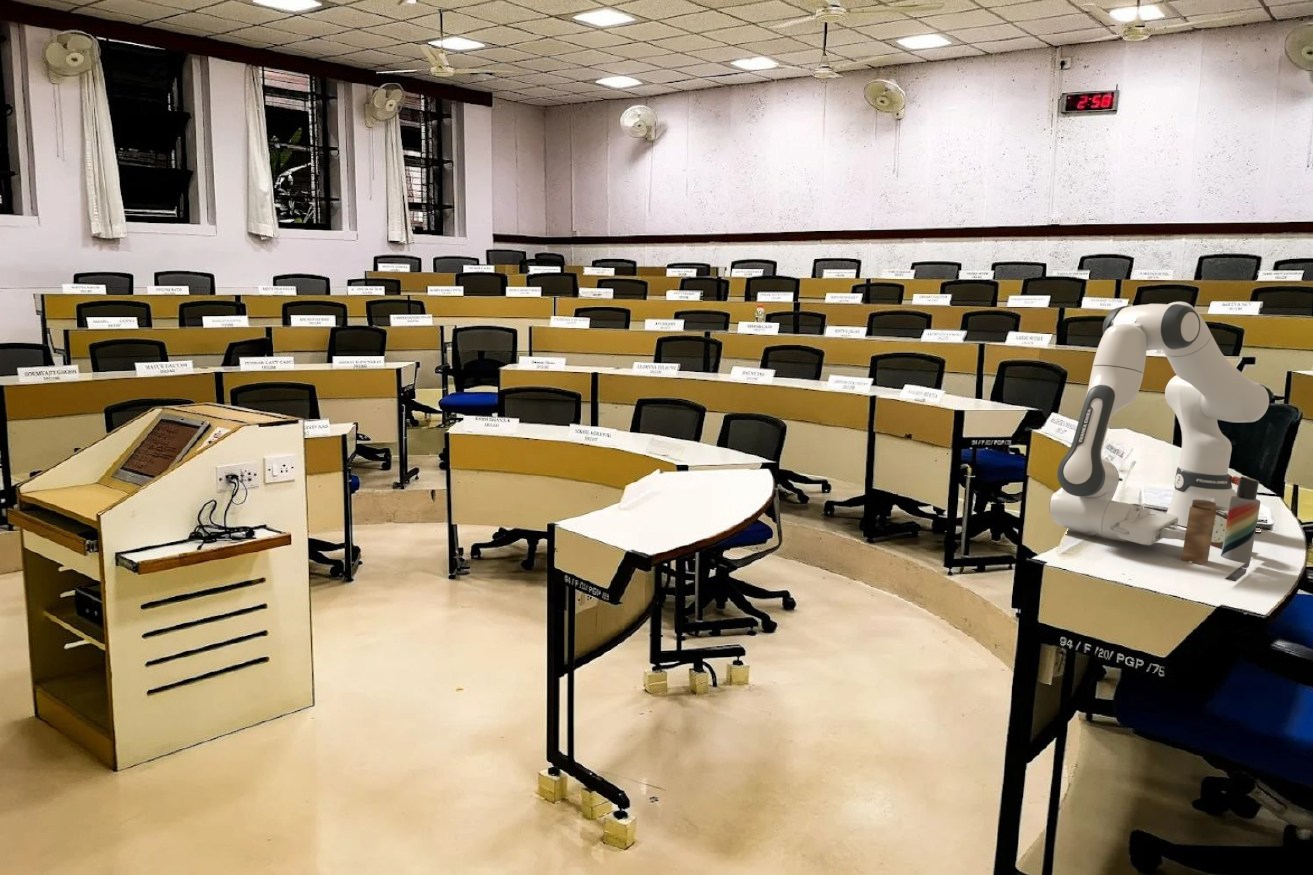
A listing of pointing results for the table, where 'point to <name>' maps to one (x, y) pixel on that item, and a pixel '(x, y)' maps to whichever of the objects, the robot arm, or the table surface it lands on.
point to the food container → (1219, 526)
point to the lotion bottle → (1241, 522)
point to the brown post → (1199, 531)
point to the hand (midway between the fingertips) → (1188, 536)
